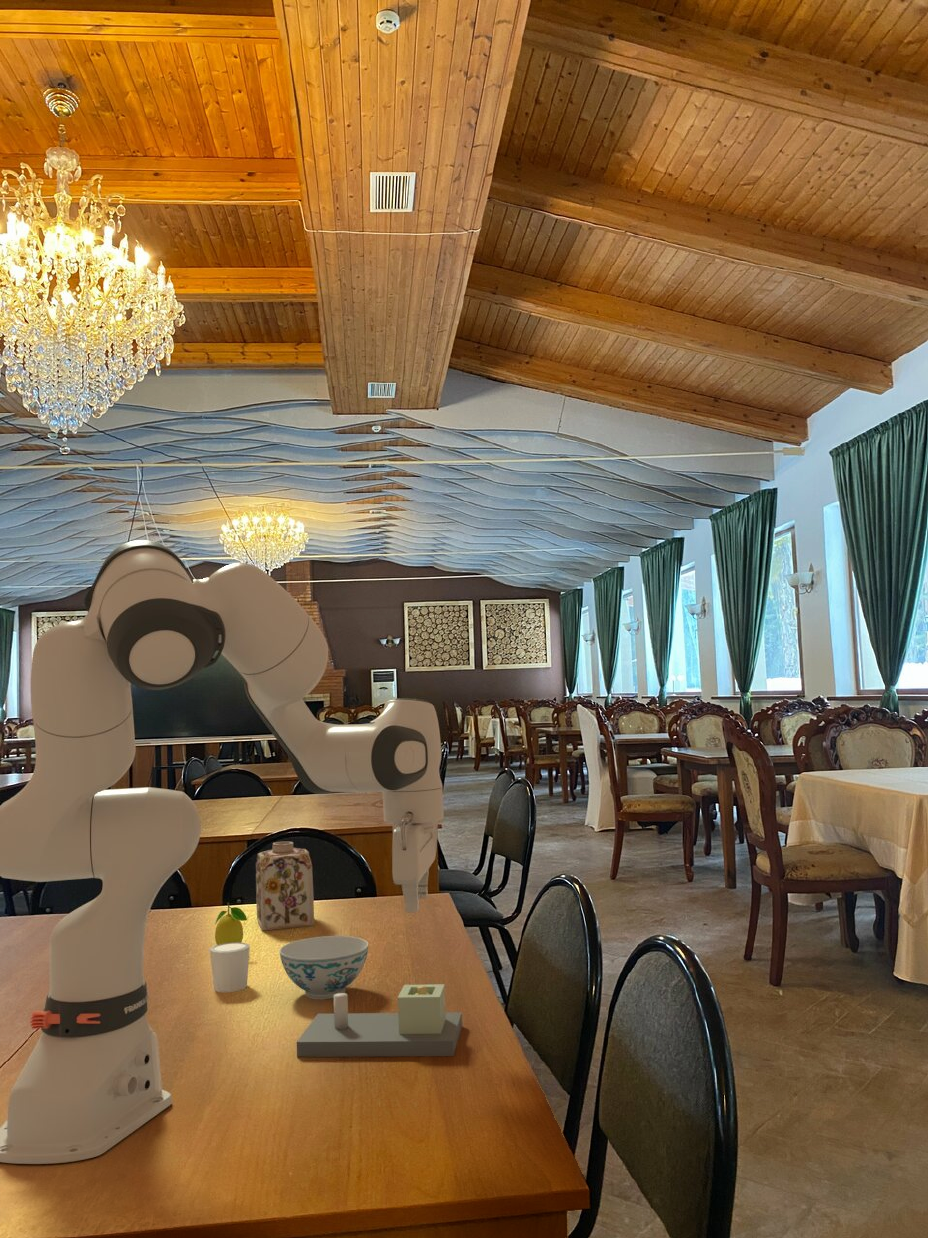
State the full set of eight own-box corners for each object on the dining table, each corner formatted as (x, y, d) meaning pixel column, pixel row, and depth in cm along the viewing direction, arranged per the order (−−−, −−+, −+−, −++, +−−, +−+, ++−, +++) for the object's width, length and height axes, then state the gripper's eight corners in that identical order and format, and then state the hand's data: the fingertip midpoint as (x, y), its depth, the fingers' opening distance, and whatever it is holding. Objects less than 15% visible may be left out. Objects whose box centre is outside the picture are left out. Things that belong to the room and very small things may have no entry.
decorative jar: (256, 921, 220) (254, 841, 222) (307, 915, 224) (305, 837, 225) (261, 932, 209) (259, 848, 210) (314, 926, 212) (312, 844, 214)
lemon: (248, 955, 190) (246, 903, 191) (217, 959, 188) (216, 907, 188) (242, 947, 196) (241, 897, 197) (213, 951, 194) (212, 901, 195)
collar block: (440, 1033, 135) (439, 997, 135) (398, 1034, 135) (397, 997, 136) (445, 1019, 141) (444, 984, 141) (405, 1019, 141) (404, 985, 142)
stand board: (453, 1056, 132) (451, 1000, 132) (297, 1057, 134) (295, 1001, 134) (462, 1026, 143) (460, 974, 144) (318, 1027, 145) (316, 976, 146)
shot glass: (240, 994, 164) (239, 952, 165) (203, 993, 166) (202, 951, 166) (256, 982, 171) (256, 942, 172) (221, 981, 172) (220, 941, 173)
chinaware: (284, 1012, 153) (283, 963, 154) (277, 986, 168) (276, 941, 168) (377, 1000, 157) (375, 952, 158) (362, 976, 172) (360, 932, 172)
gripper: (425, 816, 130) (429, 920, 129) (442, 800, 151) (445, 890, 150) (379, 818, 131) (383, 921, 130) (402, 802, 151) (405, 891, 150)
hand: (416, 904), depth 140 cm, fingers open, 8 cm apart
